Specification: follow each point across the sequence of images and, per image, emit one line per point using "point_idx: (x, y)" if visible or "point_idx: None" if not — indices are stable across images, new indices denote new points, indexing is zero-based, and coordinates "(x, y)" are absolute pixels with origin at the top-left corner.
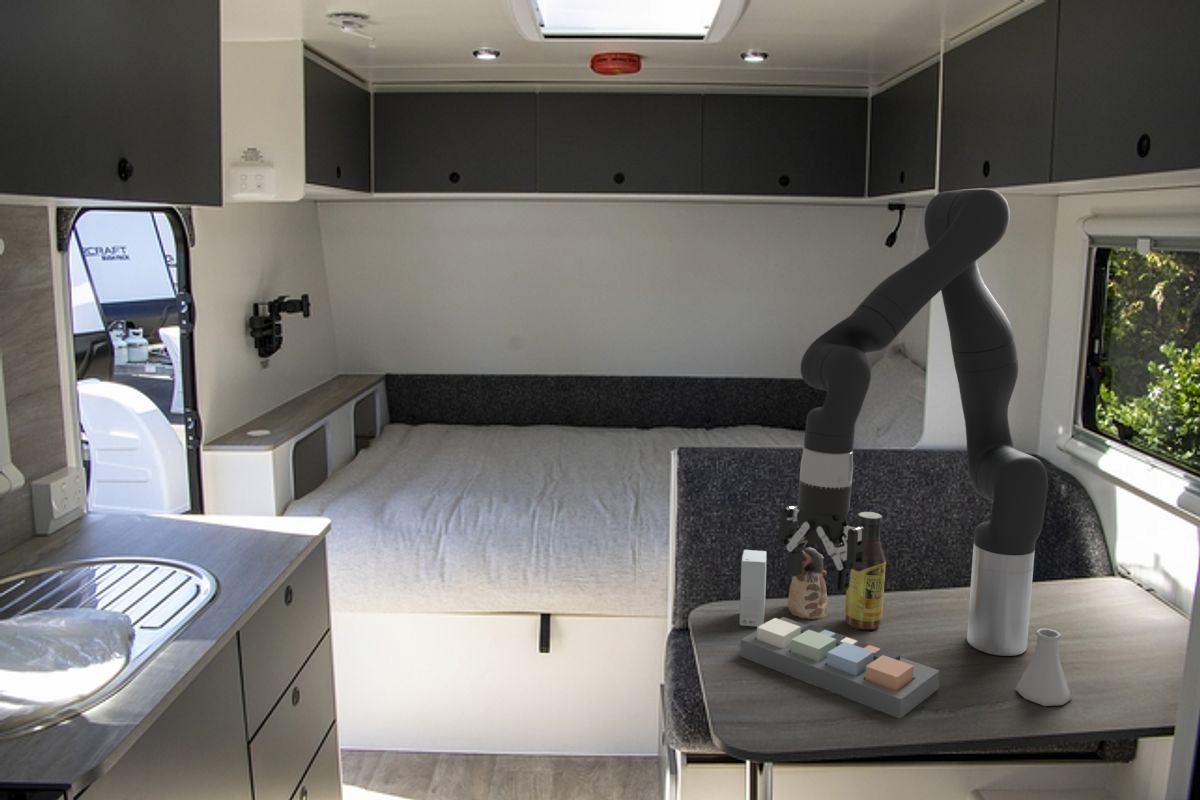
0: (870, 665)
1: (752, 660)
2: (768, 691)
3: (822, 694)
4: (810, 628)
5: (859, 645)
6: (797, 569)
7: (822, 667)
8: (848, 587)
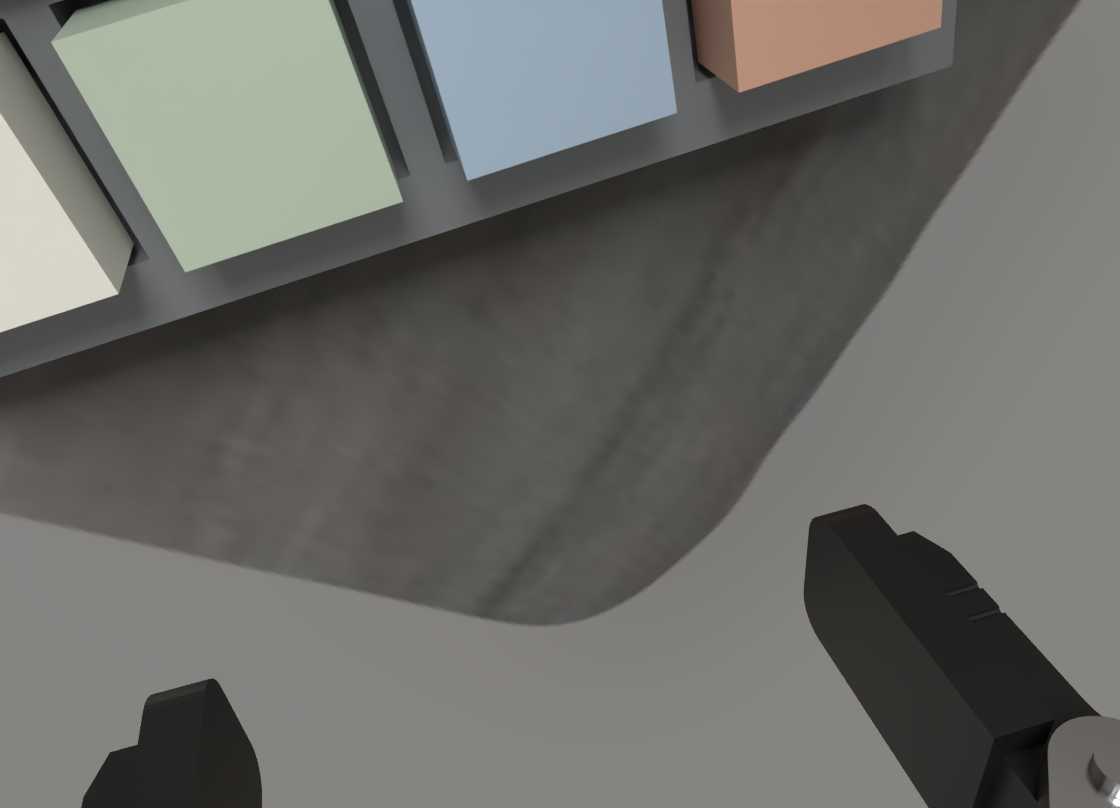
0: (753, 60)
1: None
2: (374, 398)
3: None
4: None
5: None
6: (234, 786)
7: (470, 197)
8: (938, 549)
